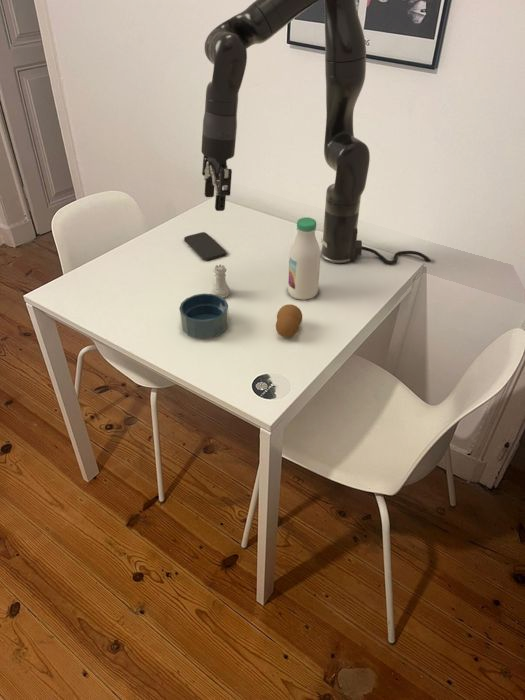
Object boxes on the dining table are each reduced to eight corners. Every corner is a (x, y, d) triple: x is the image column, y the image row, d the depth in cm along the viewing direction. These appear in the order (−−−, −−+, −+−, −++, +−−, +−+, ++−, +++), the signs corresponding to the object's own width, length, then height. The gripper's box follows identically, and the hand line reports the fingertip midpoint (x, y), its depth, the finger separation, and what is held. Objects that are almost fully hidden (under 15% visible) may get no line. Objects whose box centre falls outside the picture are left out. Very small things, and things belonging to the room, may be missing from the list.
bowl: (232, 313, 131) (231, 294, 127) (224, 341, 122) (223, 322, 119) (187, 310, 132) (185, 292, 128) (177, 338, 123) (174, 319, 120)
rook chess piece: (227, 299, 136) (226, 272, 131) (210, 297, 136) (208, 270, 131) (231, 290, 139) (230, 263, 134) (215, 288, 140) (213, 261, 135)
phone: (204, 259, 150) (182, 237, 160) (204, 261, 150) (182, 239, 160) (227, 252, 153) (204, 231, 163) (227, 255, 153) (205, 233, 163)
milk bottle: (321, 287, 140) (326, 216, 127) (313, 302, 134) (318, 230, 122) (292, 282, 142) (295, 212, 129) (284, 297, 136) (286, 225, 124)
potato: (302, 320, 129) (303, 300, 125) (300, 343, 122) (301, 322, 118) (277, 319, 129) (278, 298, 125) (274, 341, 122) (274, 320, 118)
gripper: (246, 143, 115) (238, 214, 124) (225, 124, 125) (219, 192, 134) (212, 142, 112) (207, 215, 121) (194, 123, 122) (191, 192, 132)
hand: (214, 203), depth 128 cm, fingers open, 8 cm apart
